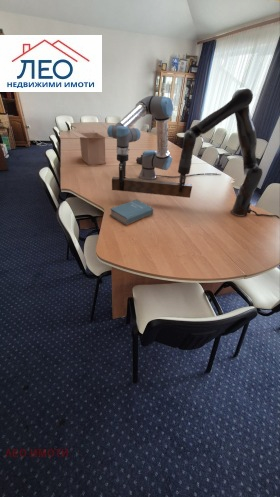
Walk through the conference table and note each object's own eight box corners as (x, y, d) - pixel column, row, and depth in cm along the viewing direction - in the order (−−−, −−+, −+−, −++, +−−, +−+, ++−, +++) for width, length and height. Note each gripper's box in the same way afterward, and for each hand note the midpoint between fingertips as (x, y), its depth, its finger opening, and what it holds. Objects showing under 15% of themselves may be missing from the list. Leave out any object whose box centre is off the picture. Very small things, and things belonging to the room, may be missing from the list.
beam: (111, 190, 154) (111, 178, 149) (113, 187, 157) (113, 176, 153) (189, 197, 151) (192, 186, 146) (189, 195, 154) (191, 184, 150)
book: (135, 206, 155) (136, 199, 152) (152, 214, 146) (153, 207, 143) (110, 215, 142) (110, 208, 139) (127, 225, 133) (127, 218, 130)
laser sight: (155, 166, 234) (156, 156, 228) (135, 164, 237) (135, 154, 231) (157, 164, 242) (158, 154, 236) (137, 161, 245) (137, 152, 239)
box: (116, 165, 229) (116, 136, 213) (83, 168, 214) (80, 137, 198) (102, 154, 259) (101, 128, 243) (71, 156, 244) (68, 129, 228)
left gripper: (126, 158, 134) (125, 194, 148) (130, 151, 148) (129, 185, 162) (114, 156, 134) (114, 193, 148) (119, 150, 148) (119, 184, 162)
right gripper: (191, 169, 135) (186, 195, 145) (189, 162, 147) (185, 187, 157) (179, 168, 136) (175, 194, 146) (178, 161, 147) (174, 186, 157)
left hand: (122, 188), depth 155 cm, fingers closed on beam, 4 cm apart
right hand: (180, 190), depth 151 cm, fingers closed on beam, 4 cm apart
